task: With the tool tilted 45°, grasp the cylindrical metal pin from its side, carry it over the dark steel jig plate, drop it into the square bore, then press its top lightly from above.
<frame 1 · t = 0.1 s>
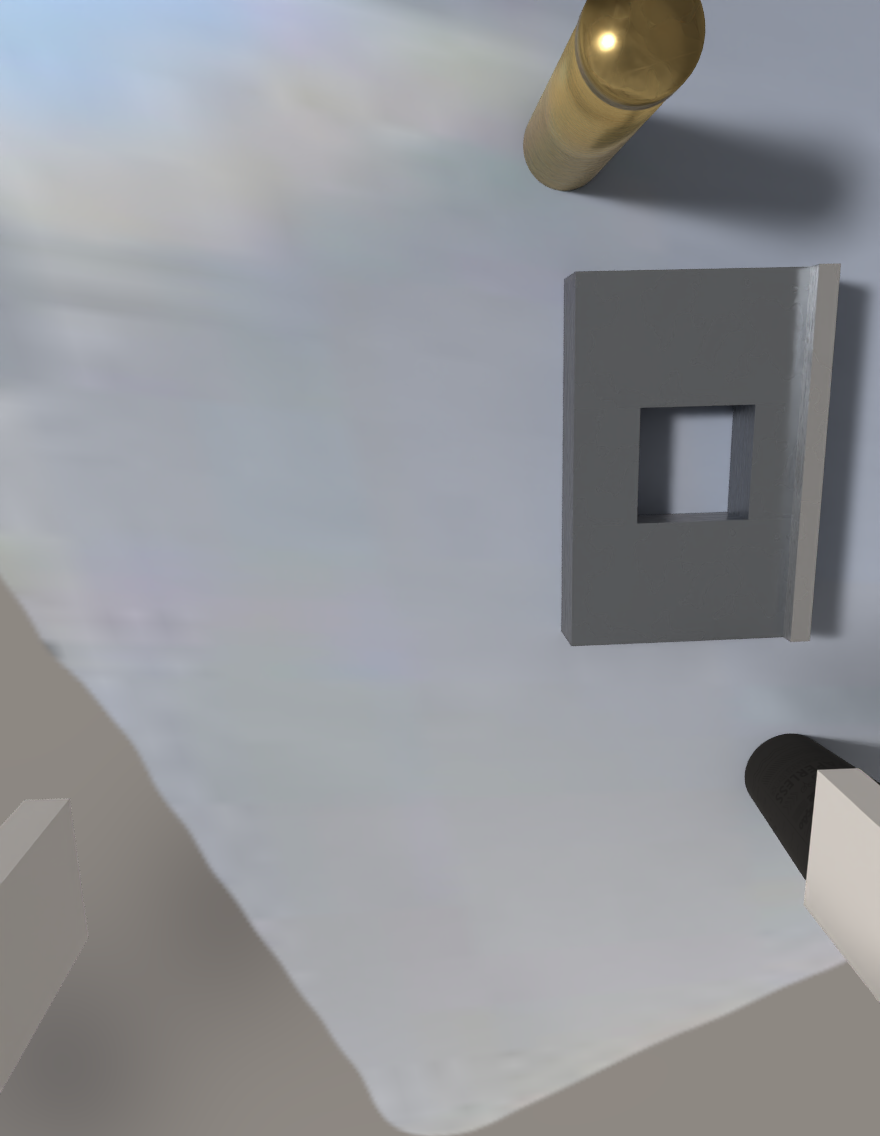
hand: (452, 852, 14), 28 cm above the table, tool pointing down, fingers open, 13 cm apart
jig: (677, 460, 41), on the table
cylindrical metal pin: (565, 144, 37), on the table
black rounded cylinder: (783, 770, 45), on the table
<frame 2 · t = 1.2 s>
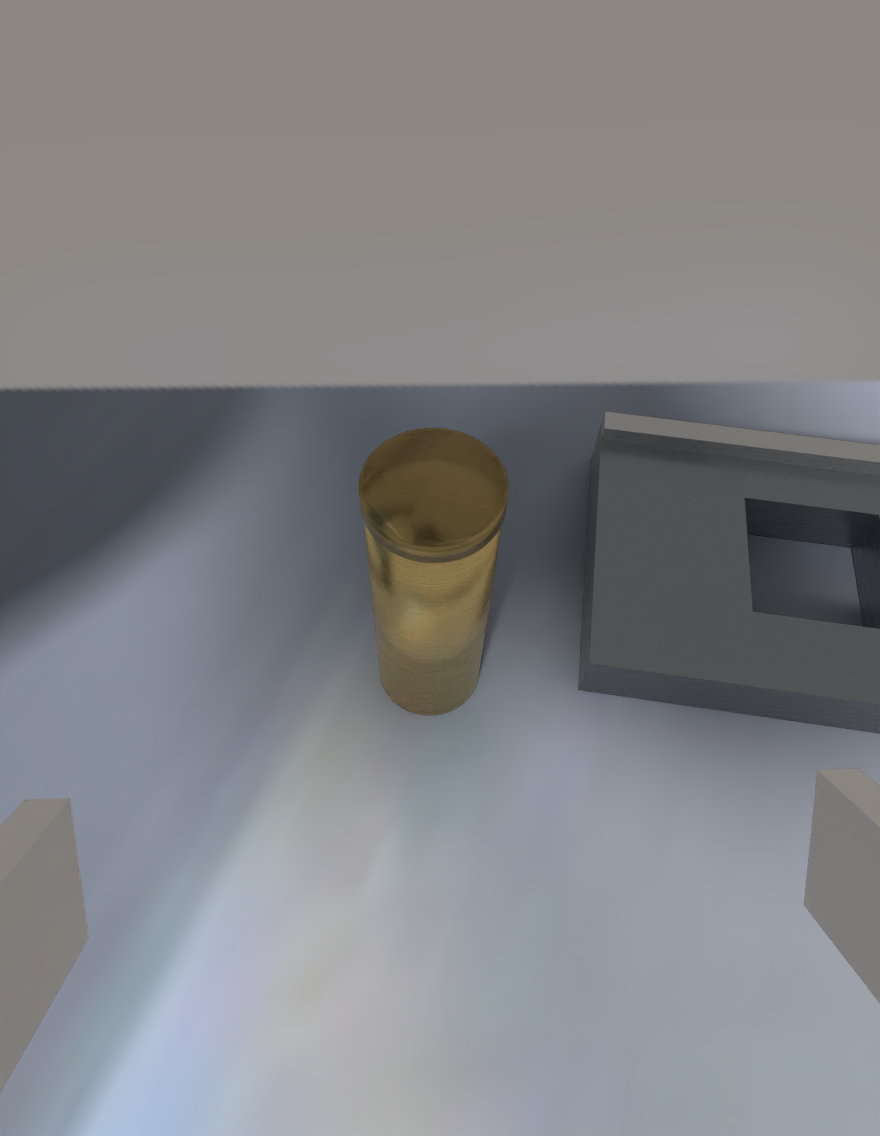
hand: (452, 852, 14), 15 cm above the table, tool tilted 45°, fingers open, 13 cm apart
jig: (793, 592, 34), on the table
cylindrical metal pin: (429, 668, 32), on the table
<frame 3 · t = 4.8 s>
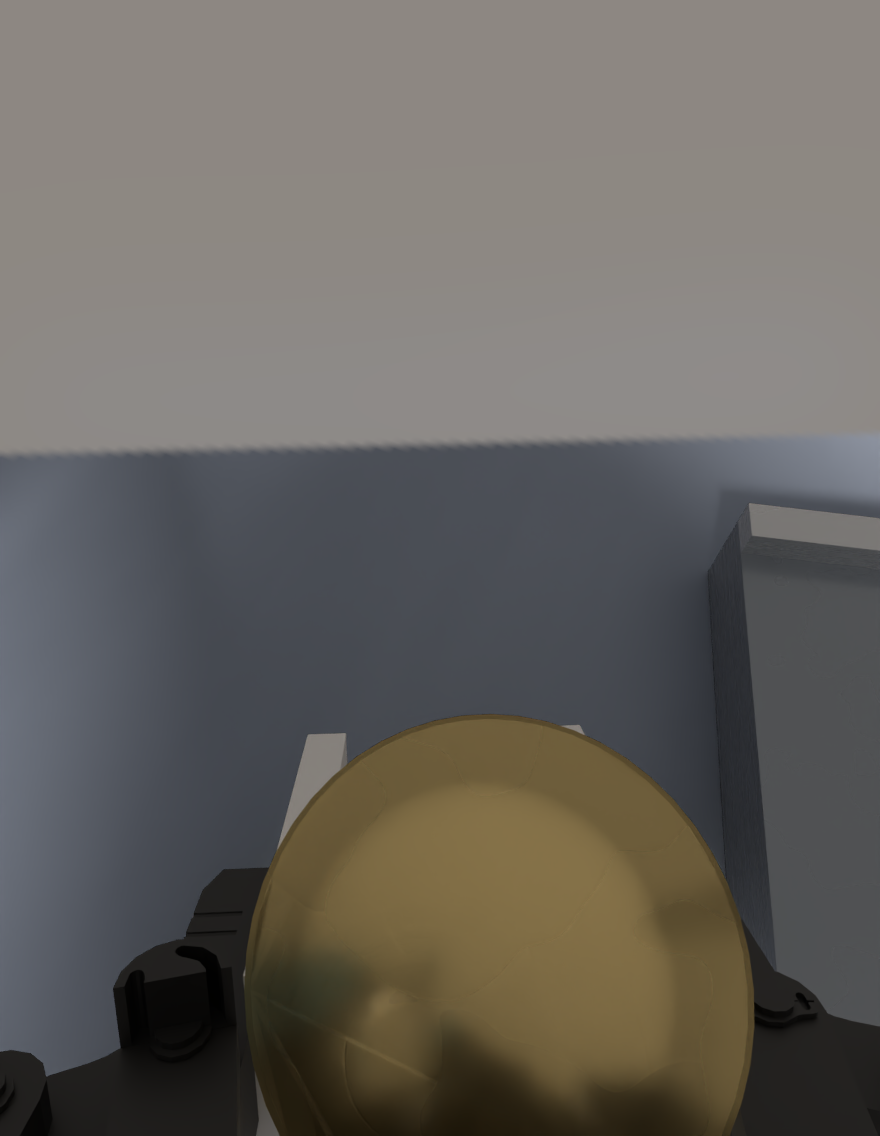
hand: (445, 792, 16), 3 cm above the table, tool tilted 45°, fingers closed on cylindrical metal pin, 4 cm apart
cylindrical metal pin: (450, 1015, 17), on the table, touching gripper
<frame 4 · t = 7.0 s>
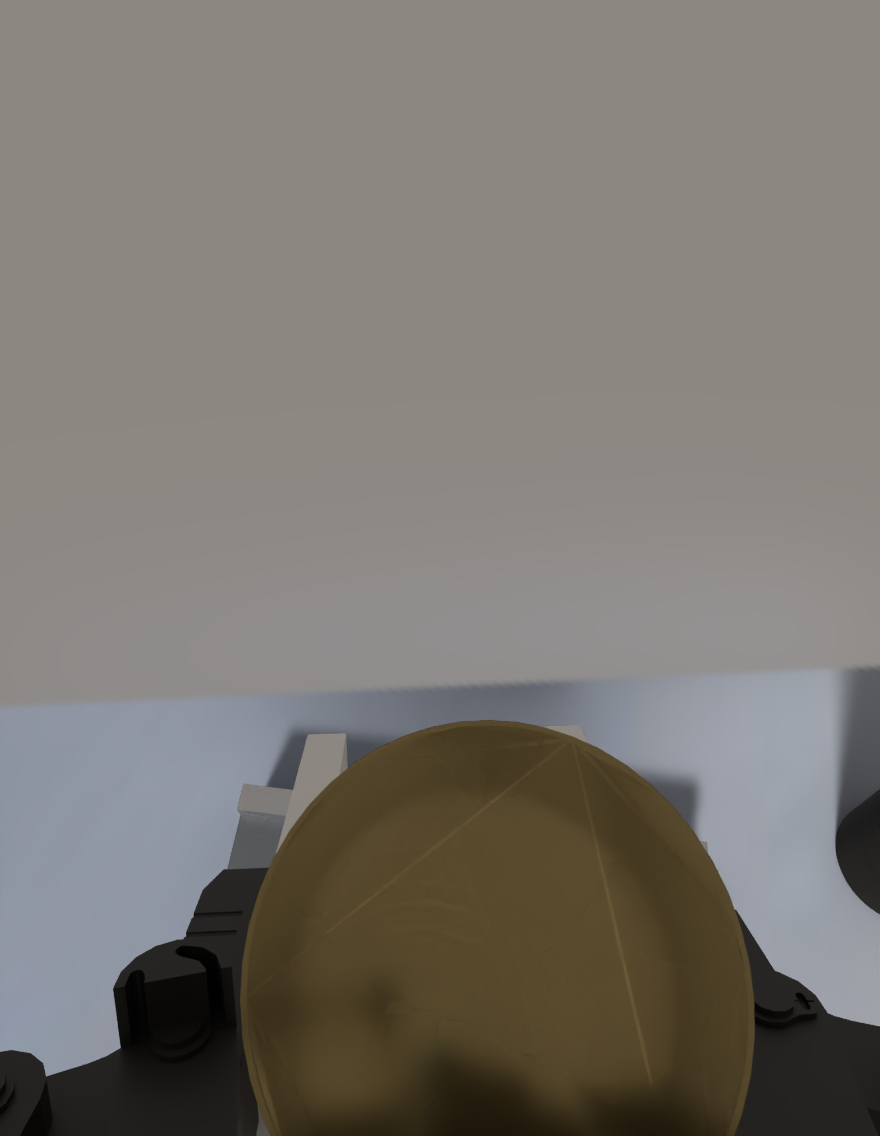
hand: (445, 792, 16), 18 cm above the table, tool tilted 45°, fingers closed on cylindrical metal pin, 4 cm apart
jig: (452, 993, 30), on the table
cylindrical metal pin: (449, 1019, 17), point 15 cm above the table, touching gripper
when the fingers open (7 cm above the table, at t = 9.4 s): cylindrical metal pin drops 3 cm, resting in jig.
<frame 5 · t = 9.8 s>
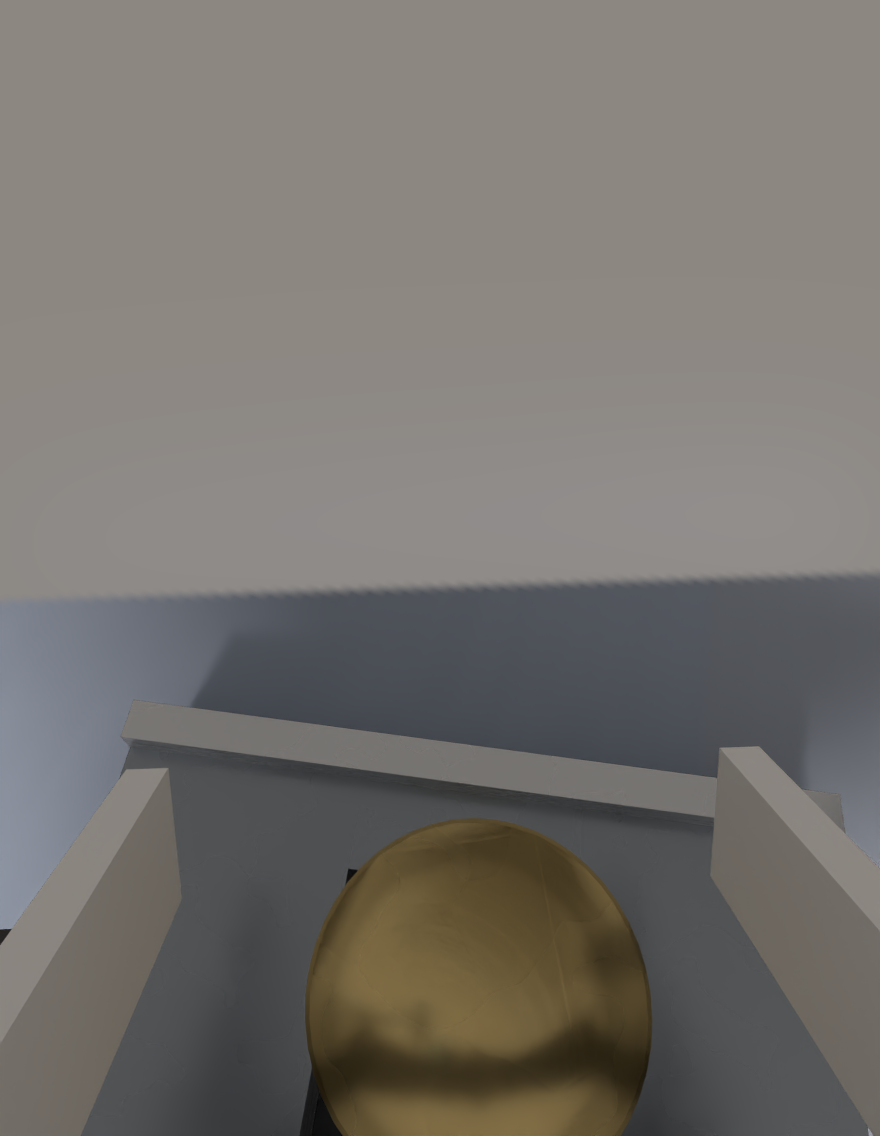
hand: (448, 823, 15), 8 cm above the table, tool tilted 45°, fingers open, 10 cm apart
jig: (445, 1021, 20), on the table
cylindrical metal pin: (446, 1026, 19), resting in jig
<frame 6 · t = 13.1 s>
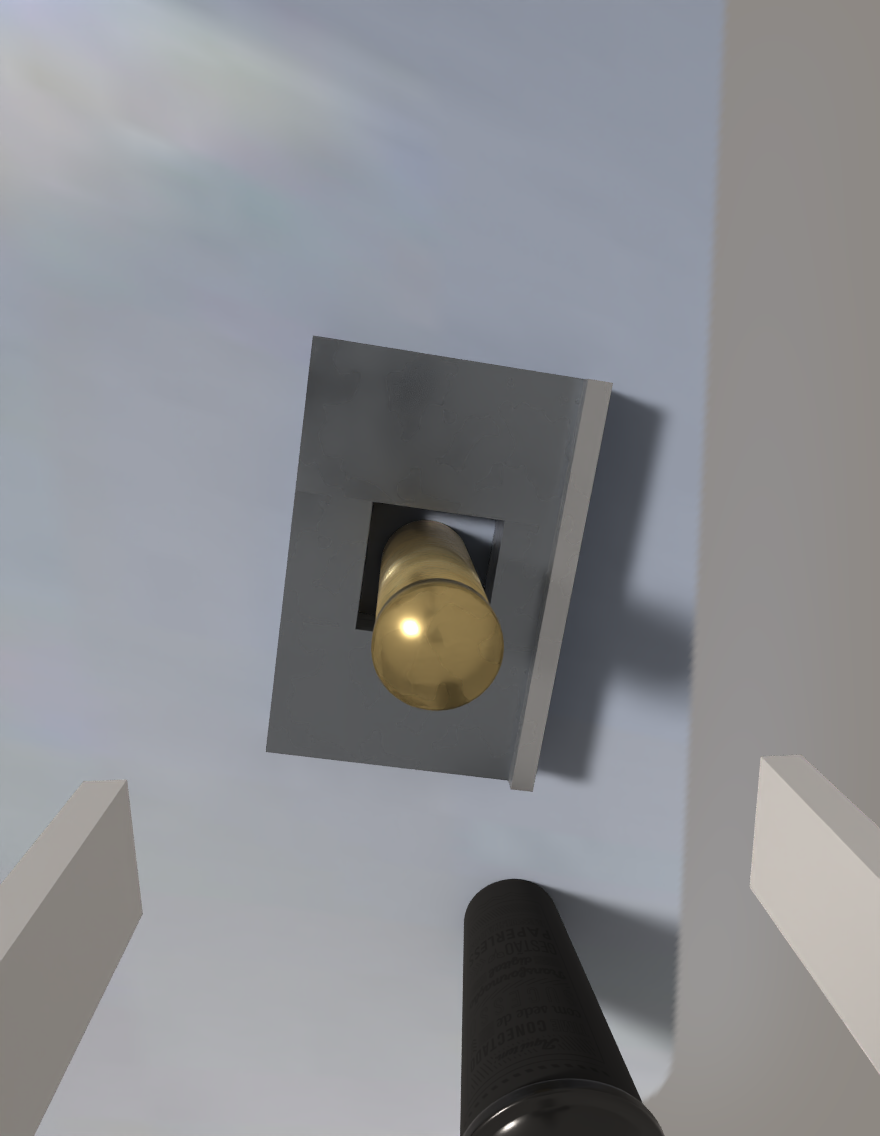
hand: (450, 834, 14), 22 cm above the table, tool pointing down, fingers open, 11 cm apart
jig: (427, 562, 36), on the table
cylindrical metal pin: (425, 563, 36), resting in jig
black rounded cylinder: (509, 917, 41), on the table
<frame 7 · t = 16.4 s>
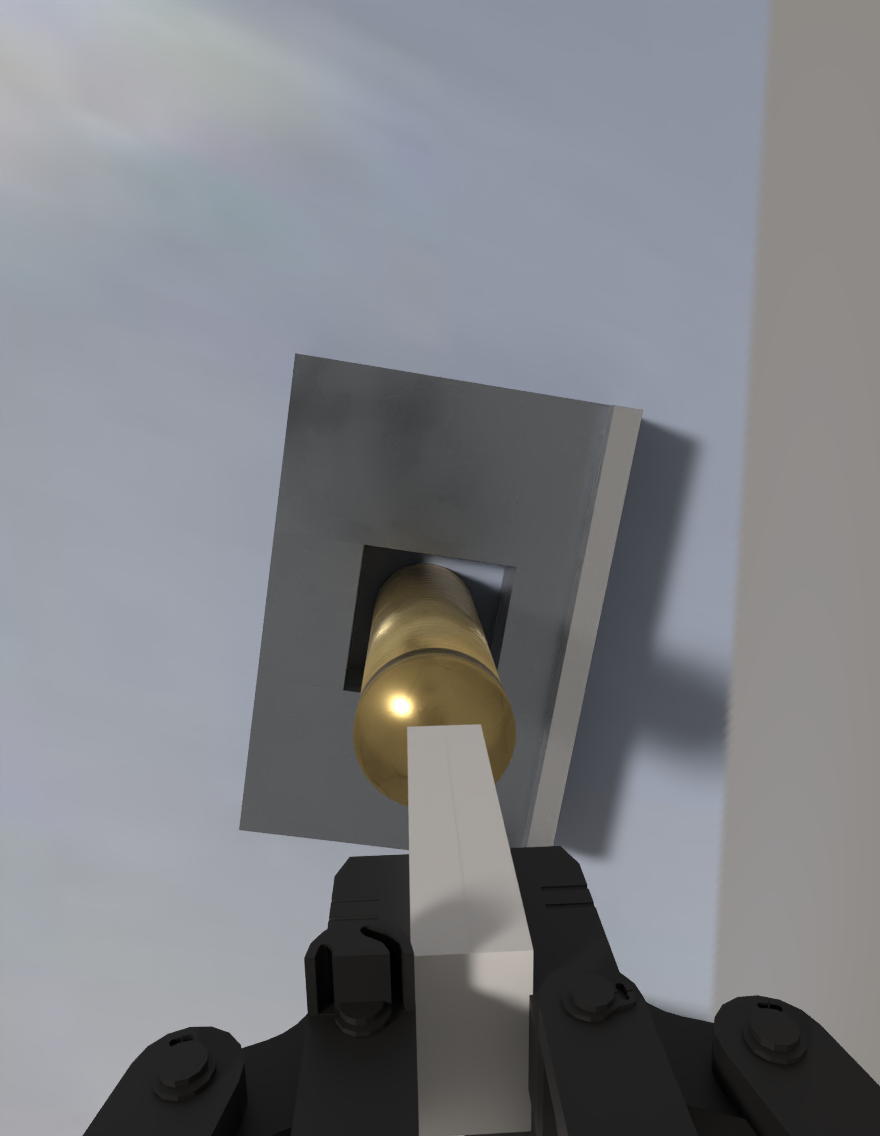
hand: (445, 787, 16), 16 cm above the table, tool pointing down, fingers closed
jig: (426, 611, 31), on the table
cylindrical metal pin: (424, 612, 31), resting in jig
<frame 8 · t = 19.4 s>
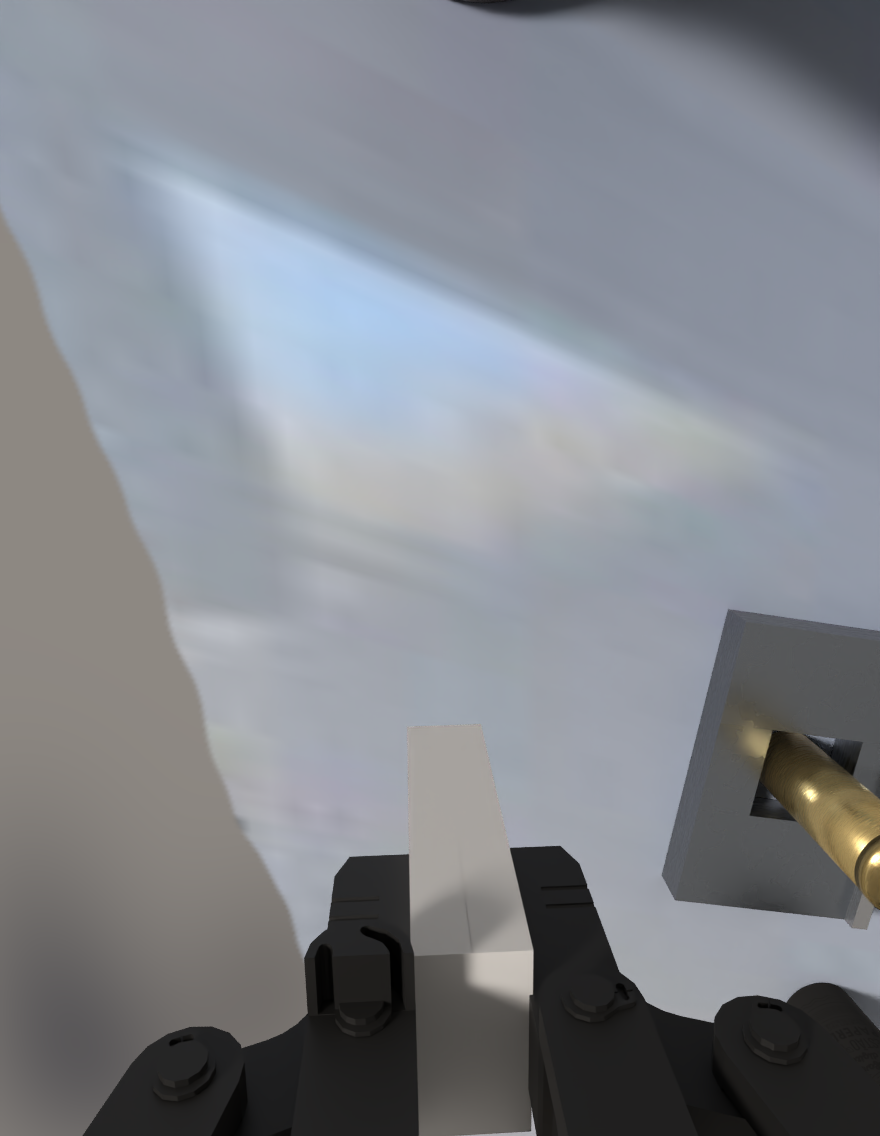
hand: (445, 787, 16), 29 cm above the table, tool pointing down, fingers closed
jig: (785, 759, 49), on the table
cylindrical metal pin: (784, 760, 49), resting in jig
black rounded cylinder: (814, 1009, 54), on the table
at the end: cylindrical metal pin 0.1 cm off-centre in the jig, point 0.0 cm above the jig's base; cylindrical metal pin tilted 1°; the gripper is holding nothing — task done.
